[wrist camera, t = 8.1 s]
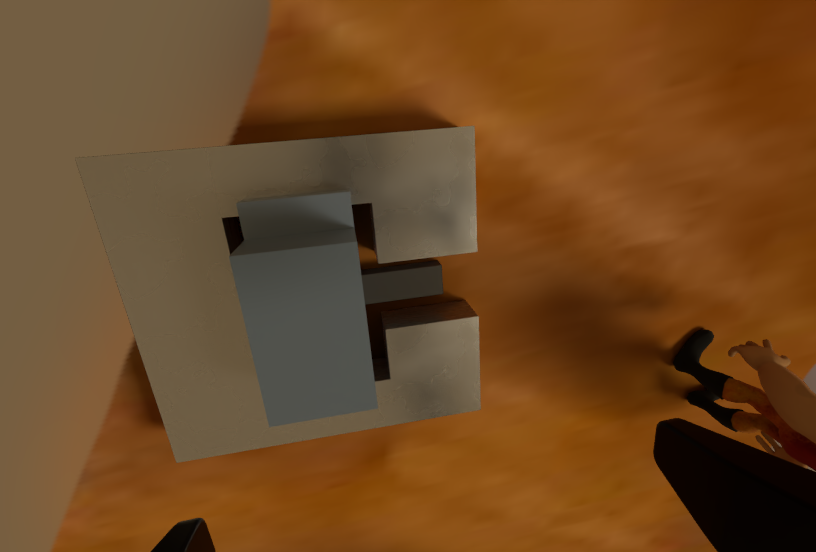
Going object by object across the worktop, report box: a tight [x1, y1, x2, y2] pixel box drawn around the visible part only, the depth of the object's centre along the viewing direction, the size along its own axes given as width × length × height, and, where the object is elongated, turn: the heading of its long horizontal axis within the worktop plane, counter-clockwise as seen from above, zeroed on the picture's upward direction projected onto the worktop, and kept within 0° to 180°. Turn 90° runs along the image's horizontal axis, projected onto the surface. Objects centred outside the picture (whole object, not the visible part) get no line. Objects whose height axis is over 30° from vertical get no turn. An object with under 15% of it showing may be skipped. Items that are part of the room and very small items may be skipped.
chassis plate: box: [75, 126, 481, 463], centre depth 18 cm, size 14×13×2 cm
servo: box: [229, 190, 443, 427], centre depth 16 cm, size 8×9×5 cm
